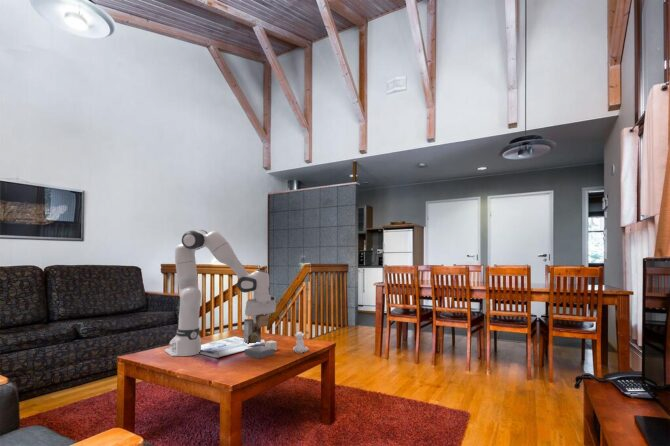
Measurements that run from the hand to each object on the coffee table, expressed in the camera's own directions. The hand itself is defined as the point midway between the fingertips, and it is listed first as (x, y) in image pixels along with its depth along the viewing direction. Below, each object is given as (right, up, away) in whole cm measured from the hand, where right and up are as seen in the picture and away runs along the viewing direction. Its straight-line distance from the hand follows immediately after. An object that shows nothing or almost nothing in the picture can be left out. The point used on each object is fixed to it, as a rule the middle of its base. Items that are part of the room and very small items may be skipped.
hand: (260, 322), depth 216 cm
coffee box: (-9, -20, +20) cm, 30 cm away
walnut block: (0, -2, 0) cm, 2 cm away
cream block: (+4, -19, +9) cm, 22 cm away
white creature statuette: (+23, -20, +6) cm, 30 cm away
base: (0, -18, -1) cm, 18 cm away
